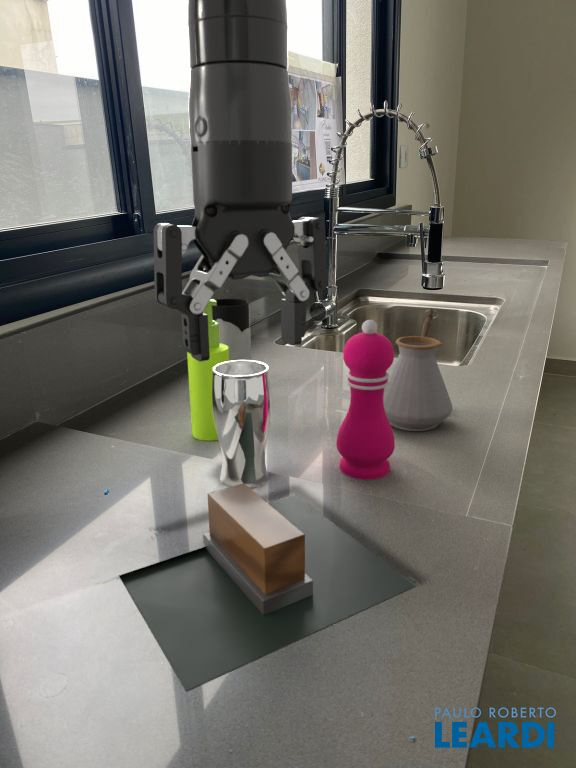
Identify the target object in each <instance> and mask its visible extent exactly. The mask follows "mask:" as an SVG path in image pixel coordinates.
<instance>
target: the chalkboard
mask: <svg viewBox="0 0 576 768" xmlns="http://www.w3.org/2000/svg"><path fill="white" fill-rule="evenodd" d="M267 503H268V504H269V505H270V506H272V507H273V508H274V509H275V510H276V511H278V512H279V513H280V514H281V515H282V516H284V517H285V518H286V519H287V520H288V521H290V522H291V523H292V524H293V525H294V526H295V527H297V528H298V529H299V530H300V531H301V532H303V533H304V534H305V574H307V575H308V576H309V577H310V578H311V579H312V580H313V595H311V596H309V597H306V598H304V599H301V600H299V601H297V602H294V603H292V604H290V605H287V606H285V607H283V608H280V609H278V610H275V611H273V612H271V613H268V614H266V615H263V614H262V613H261V612H260V611H259V610H258V608H257V607H256V606H255V605H254V604H253V603H252V601H251V600H250V599H249V598H248V597H247V596H246V595H245V593H244V592H243V591H242V590H241V589H240V588H239V587H238V585H237V584H236V583H235V582H234V581H233V580H232V578H231V577H230V576H229V575H228V574H227V573H226V572H225V570H224V569H223V568H222V567H221V566H220V565H219V564H218V562H217V561H216V560H215V559H214V558H213V557H212V556H211V554H210V553H209V552H208V551H207V550H206V549H205V547H206V546H203V547H199V548H196V549H194V550H190V551H187V552H184V553H181V554H178V555H176V556H172V557H170V558H167V559H164V560H161V561H157V562H155V563H152V564H149V565H146V566H142V567H140V568H136V569H135V570H132V571H128V572H125V573H122V574H119V575H118V577H119V579H120V581H121V582H122V584H123V585H124V587H125V589H126V591H127V592H128V594H129V596H130V598H131V599H132V601H133V603H134V604H135V607H136V608H137V610H138V612H139V613H140V615H141V617H142V619H143V620H144V622H145V623H146V625H147V627H148V629H149V631H150V632H151V634H152V636H153V637H154V639H155V641H156V643H157V644H158V647H159V648H160V650H161V651H162V653H163V655H164V656H165V658H166V660H167V662H168V663H169V665H170V667H171V669H172V670H173V672H174V675H176V677H177V679H178V680H179V682H180V685H181V686H182V687H183V689H184V691H185V692H190V691H191V690H194V689H195V688H198V687H200V686H203V685H204V684H206V683H209V682H211V681H214V680H215V679H217V678H219V677H222V676H224V675H226V674H228V673H230V672H233V671H235V670H237V669H240V668H241V667H244V666H246V665H248V664H250V663H253V662H254V661H257V660H260V659H261V658H263V657H265V656H267V655H269V654H272V653H274V652H276V651H279V650H280V649H283V648H285V647H287V646H289V645H291V644H294V643H296V642H298V641H300V640H302V639H305V638H307V637H310V636H311V635H314V634H315V633H318V632H320V631H323V630H325V629H327V628H329V627H331V626H333V625H335V624H337V623H341V622H342V621H344V620H347V619H348V618H351V617H353V616H355V615H357V614H359V613H362V612H365V611H366V610H368V609H370V608H372V607H374V606H377V605H379V604H381V603H384V602H385V601H387V600H390V599H392V598H395V597H397V596H399V595H401V594H404V593H405V592H408V591H410V590H411V589H414V588H416V585H415V584H414V583H413V582H411V581H410V580H409V579H407V578H406V577H404V576H403V575H402V574H401V573H399V572H398V571H397V570H396V569H394V568H392V566H391V565H389V564H387V562H385V561H384V560H383V559H381V558H380V557H379V556H377V555H376V554H374V553H373V552H372V551H370V549H368V548H367V547H365V546H364V545H362V544H361V543H360V542H359V541H357V540H356V539H355V538H353V536H351V535H350V534H349V533H347V532H346V531H344V530H343V529H342V528H340V527H339V526H338V525H337V524H336V523H334V522H333V521H331V519H329V518H328V517H326V516H325V515H324V514H322V513H321V512H320V511H318V510H317V509H316V508H314V507H313V506H312V505H310V504H309V503H308V502H306V501H305V500H304V499H303V498H302V497H300V496H298V495H297V494H295V493H294V494H291V495H288V496H285V497H282V498H278V499H275V500H272V501H269V502H267Z"/></svg>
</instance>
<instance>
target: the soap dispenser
mask: <svg viewBox="0 0 576 768" xmlns="http://www.w3.org/2000/svg"><path fill="white" fill-rule="evenodd" d="M215 300H216V299H214V298H211V299H210V301H209V303H208V304H207V306H206V307H205V309H204V311H203V313H205V314H207V315H208V333H209V353H210V358H209V360H206V361H198V360H196V359H194V358H193V357H192V356H191V354H190V353H189V352H187V351H186V354H187V355H186V358H187V372H188V373H187V374H188V375H187V376H188V388H189V390H188V391H189V405H190V421H191V424H190V425H191V435H192V437H193V438H194V439H196V440H200V441H204V442H206V441H207V442H214V441H219V440H218V436H217V432H216V427H215V422H214V417H213V408H212V377H213V371H212V369H213V367H214V366H215V365H217V364H220V363H223V362H227V361H229V347H228V346H227V345H224V344H220V341H219V323H218V322H215V321H214V320H213V319H212V306H217V302H216V301H215Z"/></svg>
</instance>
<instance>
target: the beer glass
mask: <svg viewBox="0 0 576 768" xmlns="http://www.w3.org/2000/svg"><path fill="white" fill-rule="evenodd" d="M212 371H213V377H212V408H213V417H214V422H215V427H216V432H217V436H218V440H217V441H218V444H219V449H220V453H221V454H220V455H221V471H220V477H219V480H220V482H221V484H222V485H224V486H226V487H227V488H229V487H233V486H236V485H239V484H243V483H244V484H245V485H247V486H248V487H249V488H250V489H253V488H257V487H260V486H262V485H263V484H265V483H266V482H267V481H268V479H269V474H268V470H267V465H266V449H267V443H268V438H269V431H270V425H271V417H272V387H271V378H270V367H269V365H268V364H266V363H265V362H262V361H259V360H252V359H251V360H234V361H227V362H223V363H220V364H217V365H215V366H214V367H213V369H212Z"/></svg>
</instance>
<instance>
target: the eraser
mask: <svg viewBox="0 0 576 768" xmlns="http://www.w3.org/2000/svg"><path fill="white" fill-rule="evenodd" d="M268 503H269V502H267V501H266V500H265V499H263V498H262V497H261V496H260V495H259V494H257V493H256V491H254V490H253V489H252V488H249V487H248V486H247V485H245V484H244V483H243V484H239V485H236V486H233V487H226V488H223V489H219V490H216V491H212V492H209V493H207V506H208V507H207V511H208V528H209V531H207V532H203V533H202V542H203V543H204V545H205V546H204V547H205V549H206V550H207V551H208V552H209V553H210V554H211V556H212V557H213V558H214V559H215V560H216V561H217V562H218V564H219V565H220V566H221V567H222V568H223V569H224V570H225V572H226V573H227V574H228V575H229V576H230V577H231V578H232V580H233V581H234V582H235V583H236V584H237V585H238V587H239V588H240V589H241V590H242V591H243V592H244V593H245V595H246V596H247V597H248V598H249V599H250V600H251V601H252V603H253V604H254V605H255V606H256V607H257V608H258V610H259V611H260V612H261V613H262V614H263V615H266V614H268V613H271V612H273V611H275V610H278V609H280V608H283V607H285V606H287V605H290V604H292V603H294V602H297V601H299V600H301V599H304V598H306V597H309V596H311V595H313V580H312V579H311V578H310V577H309V576H308V575H307V574H305V534H304V533H303V532H301V531H300V530H299V529H298V528H297V527H295V526H294V525H293V524H292V523H291V522H290V521H288V520H287V519H286V518H285V517H284V516H282V515H281V514H280V513H279V512H278V511H276V510H275V509H274V508H273V507H272V506H270V505H269V504H268Z"/></svg>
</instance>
